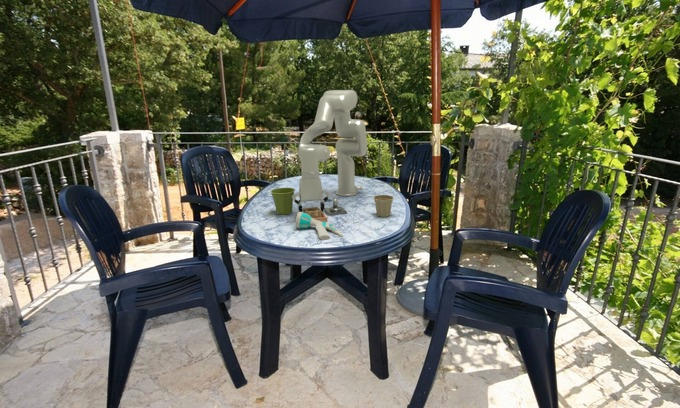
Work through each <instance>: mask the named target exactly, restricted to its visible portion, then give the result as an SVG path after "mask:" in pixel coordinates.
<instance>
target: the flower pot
mask: <svg viewBox="0 0 680 408" xmlns="http://www.w3.org/2000/svg"><path fill="white" fill-rule="evenodd" d="M394 199H395V197H394V196H393V195H388V194H377V195H375V196H373V201H374V203H375V211H376V216H377V217H381V218H387V217H389V216H390V215H391V212H392V204H393V200H394Z"/></svg>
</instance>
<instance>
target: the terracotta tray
mask: <svg viewBox="0 0 680 408" xmlns="http://www.w3.org/2000/svg"><path fill="white" fill-rule="evenodd" d="M298 213H299V211H298V212H297V213H296V214H298ZM313 219H315V220H318V221H321V222H326V223H327V222H328V216H327V215H326V214H325V213H324V212H322V211H321V217H320V218H313Z"/></svg>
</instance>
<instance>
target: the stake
mask: <svg viewBox="0 0 680 408" xmlns="http://www.w3.org/2000/svg"><path fill="white" fill-rule="evenodd" d="M338 201H339V199H338V198H332V206H330V207H326V208H325V209H324V212H325V213H326V214H327V215H328V216H335V215H337V216H338V215H347V214H348V211H347V210H346V209H345V208H344V206H339V202H338Z"/></svg>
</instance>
